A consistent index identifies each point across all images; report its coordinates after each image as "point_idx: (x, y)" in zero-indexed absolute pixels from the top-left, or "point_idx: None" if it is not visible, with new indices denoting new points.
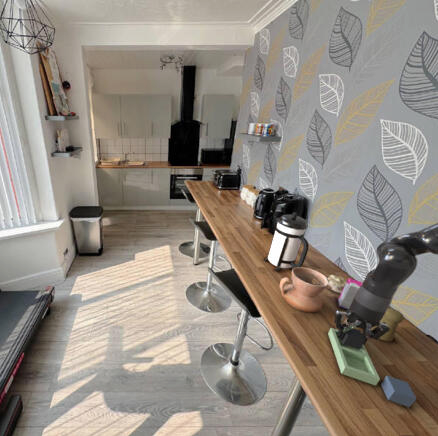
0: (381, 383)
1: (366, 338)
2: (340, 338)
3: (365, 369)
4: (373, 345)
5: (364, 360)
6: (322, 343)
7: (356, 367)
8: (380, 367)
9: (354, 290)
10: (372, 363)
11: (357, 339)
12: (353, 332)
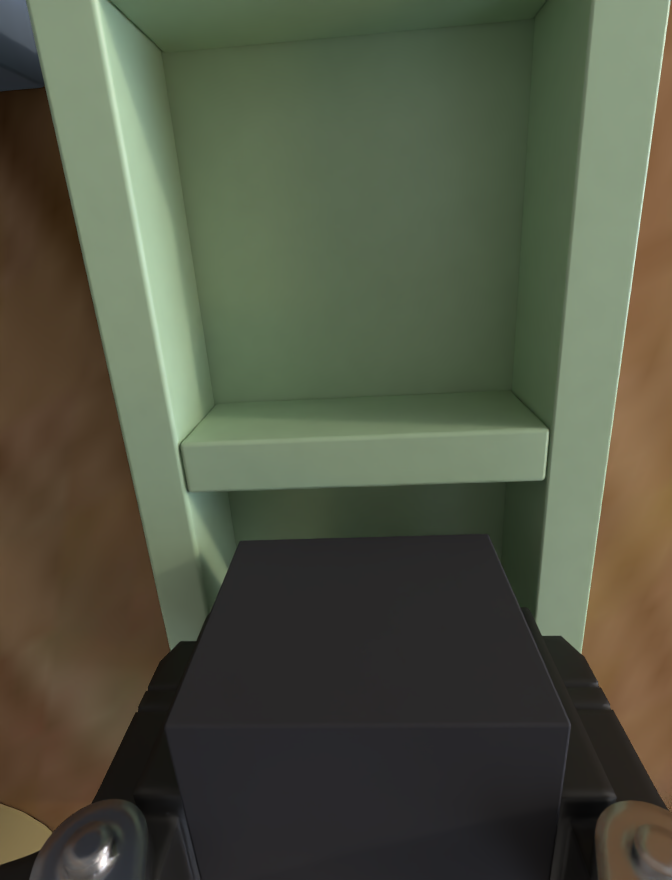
0: (28, 67)
1: (124, 809)
2: (530, 627)
3: (205, 256)
4: (65, 703)
5: (198, 394)
6: (662, 487)
7: (322, 227)
8: (24, 418)
9: None
10: (98, 312)
11: (329, 703)
12: (378, 864)
